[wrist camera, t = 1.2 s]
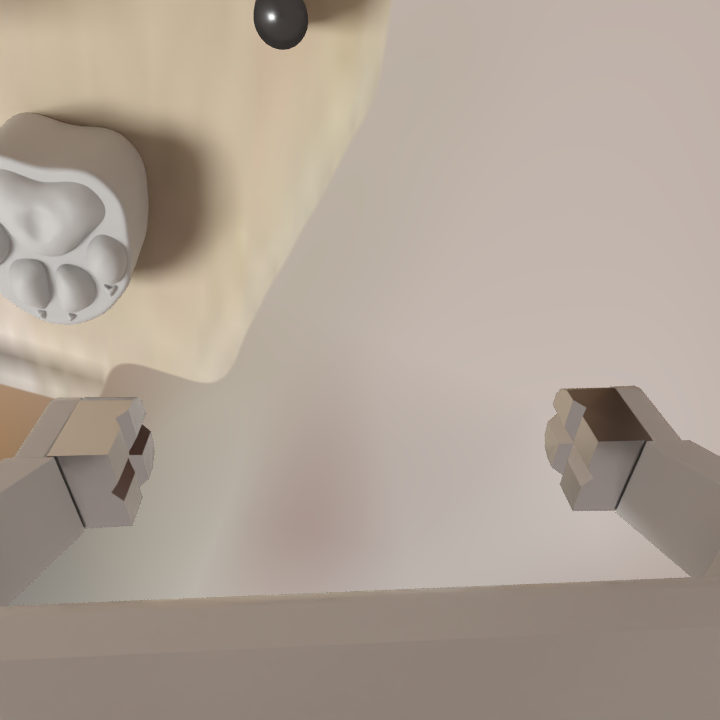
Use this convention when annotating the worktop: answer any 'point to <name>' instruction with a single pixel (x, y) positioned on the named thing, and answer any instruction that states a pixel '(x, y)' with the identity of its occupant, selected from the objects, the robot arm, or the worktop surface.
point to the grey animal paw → (68, 217)
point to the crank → (281, 22)
